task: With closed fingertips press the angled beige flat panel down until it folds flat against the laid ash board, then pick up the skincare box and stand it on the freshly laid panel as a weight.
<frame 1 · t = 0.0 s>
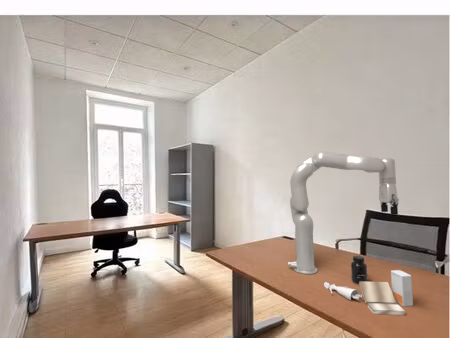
hand: (389, 213, 131), 31 cm above the table, fingers open, 9 cm apart
woman figurine: (341, 295, 108), on the table
supplement bottle: (359, 282, 119), on the table
skincare box: (402, 303, 99), on the table
laid board: (385, 310, 93), on the table
beige flat panel: (376, 292, 100), point 4 cm above the table, hinge at 45.0°
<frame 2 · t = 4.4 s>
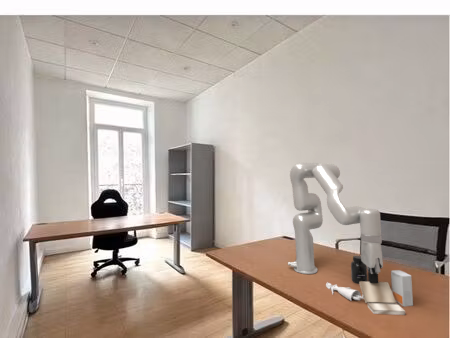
hand: (373, 282, 102), 7 cm above the table, fingers closed
beige flat panel: (376, 292, 100), point 4 cm above the table, hinge at 45.0°, touching gripper
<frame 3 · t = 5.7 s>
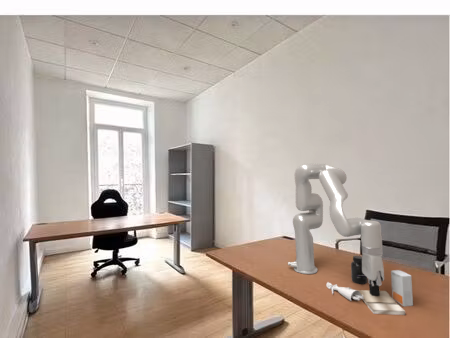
hand: (374, 294, 102), 2 cm above the table, fingers closed
beige flat panel: (376, 297, 101), point 1 cm above the table, hinge at 6.7°, touching gripper
everything else where it was.
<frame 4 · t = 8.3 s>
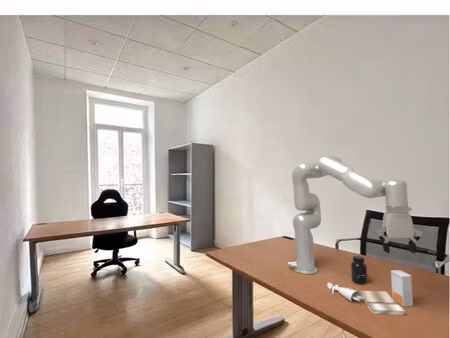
hand: (399, 252, 100), 20 cm above the table, fingers open, 9 cm apart
beige flat panel: (376, 298, 101), point 1 cm above the table, hinge at 5.2°
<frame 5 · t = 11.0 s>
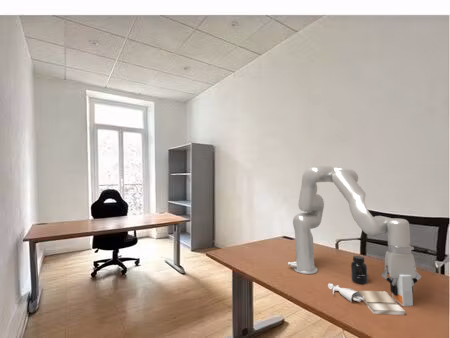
hand: (401, 293, 99), 3 cm above the table, fingers closed on skincare box, 5 cm apart
skincare box: (402, 303, 99), on the table, touching gripper
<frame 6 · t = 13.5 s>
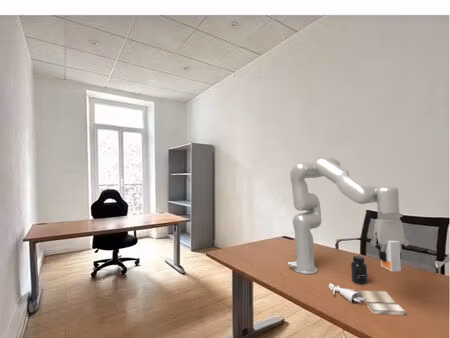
hand: (390, 260, 100), 17 cm above the table, fingers closed on skincare box, 5 cm apart
skincare box: (390, 269, 100), point 13 cm above the table, touching gripper
when the fingers open (6 cm above the table, at t = 16.4 s): skincare box stays where it is, resting on beige flat panel.
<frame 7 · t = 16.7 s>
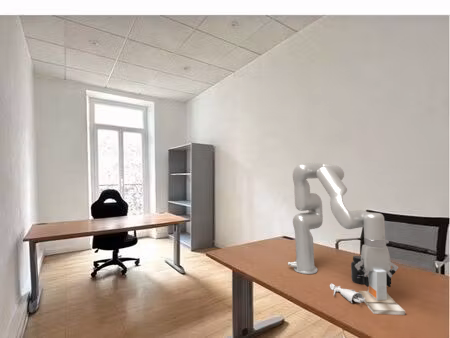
hand: (377, 285, 101), 6 cm above the table, fingers open, 7 cm apart
skincare box: (377, 296, 101), point 2 cm above the table, touching beige flat panel
beige flat panel: (376, 298, 101), point 1 cm above the table, hinge at 4.6°, touching skincare box
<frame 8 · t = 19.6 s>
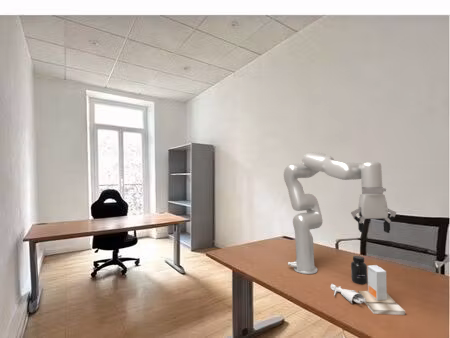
hand: (374, 232, 102), 28 cm above the table, fingers open, 9 cm apart
at the end: beige flat panel at +4° (first picture: +45°); skincare box inside the target area on the beige flat panel (0.3 cm from its centre), point 0.1 cm above the beige flat panel's base; skincare box tilted 4° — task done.
